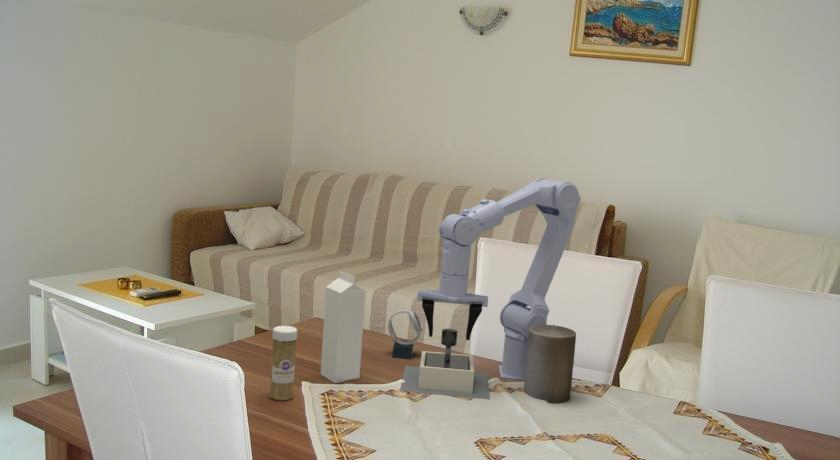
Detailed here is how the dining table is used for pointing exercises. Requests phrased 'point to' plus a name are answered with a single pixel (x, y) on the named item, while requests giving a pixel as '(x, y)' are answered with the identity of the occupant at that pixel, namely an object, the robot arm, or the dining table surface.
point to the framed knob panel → (446, 376)
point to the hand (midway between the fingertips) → (449, 337)
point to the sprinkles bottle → (283, 362)
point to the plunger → (447, 353)
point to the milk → (342, 329)
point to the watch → (405, 347)
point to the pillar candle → (550, 362)
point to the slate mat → (412, 386)
